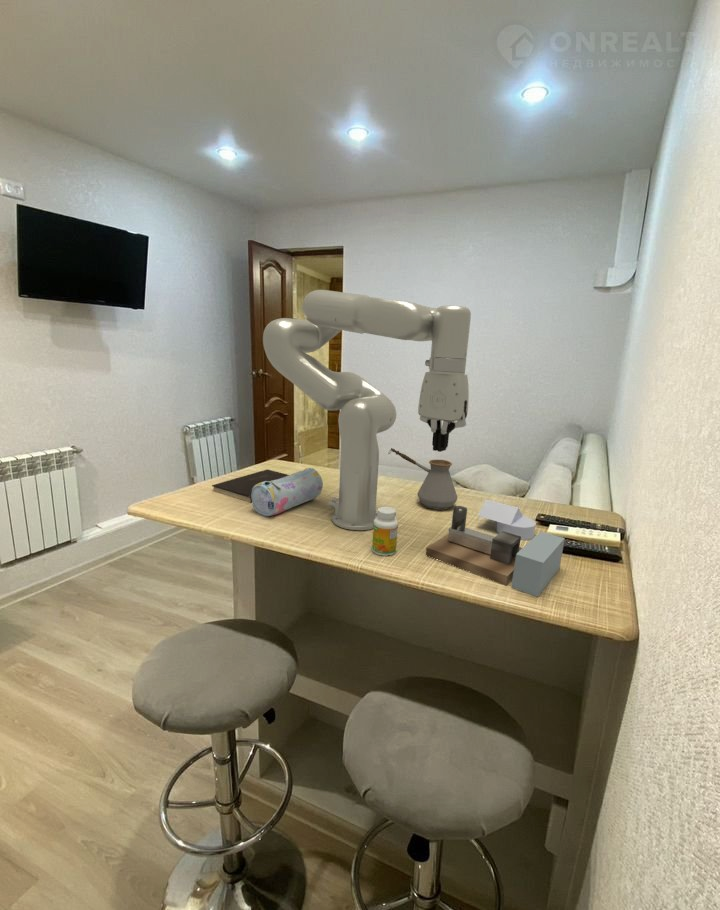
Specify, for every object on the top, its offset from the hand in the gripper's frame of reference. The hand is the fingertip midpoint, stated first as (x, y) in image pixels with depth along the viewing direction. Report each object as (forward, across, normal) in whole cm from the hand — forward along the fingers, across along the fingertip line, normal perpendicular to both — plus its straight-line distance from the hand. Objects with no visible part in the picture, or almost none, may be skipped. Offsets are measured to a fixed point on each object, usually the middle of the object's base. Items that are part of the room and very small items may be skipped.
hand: (439, 450), depth 100 cm
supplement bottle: (+22, -5, -12) cm, 26 cm away
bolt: (+20, +11, 0) cm, 23 cm away
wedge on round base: (+22, +11, +20) cm, 32 cm away
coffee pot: (+22, -16, +22) cm, 35 cm away
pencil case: (+22, -40, -8) cm, 47 cm away
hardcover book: (+23, -58, -3) cm, 62 cm away
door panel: (+22, +12, 0) cm, 25 cm away
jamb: (+22, +25, 0) cm, 33 cm away
